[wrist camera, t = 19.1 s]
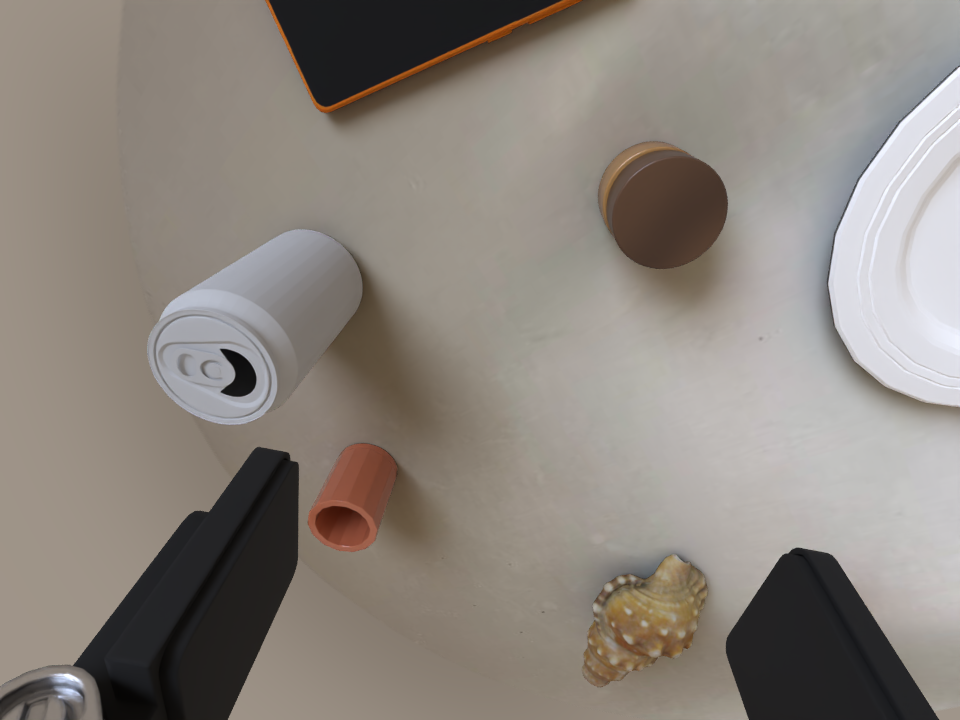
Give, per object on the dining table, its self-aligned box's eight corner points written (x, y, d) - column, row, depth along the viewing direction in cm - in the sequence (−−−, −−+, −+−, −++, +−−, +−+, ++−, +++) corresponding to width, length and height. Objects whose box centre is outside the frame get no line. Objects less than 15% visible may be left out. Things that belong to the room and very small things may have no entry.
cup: (326, 467, 40) (294, 526, 35) (360, 431, 38) (332, 488, 33) (374, 500, 41) (351, 562, 36) (410, 467, 39) (390, 527, 34)
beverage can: (360, 334, 34) (282, 447, 24) (263, 309, 34) (142, 413, 24) (372, 240, 31) (289, 324, 21) (266, 213, 31) (129, 284, 21)
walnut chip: (584, 209, 27) (588, 220, 25) (664, 125, 25) (676, 129, 23) (653, 274, 28) (662, 290, 26) (735, 199, 26) (752, 210, 24)
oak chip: (577, 196, 29) (581, 206, 27) (651, 118, 27) (661, 122, 25) (641, 258, 30) (649, 271, 28) (717, 188, 28) (732, 197, 26)
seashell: (666, 593, 48) (640, 715, 42) (587, 550, 48) (551, 665, 42) (732, 577, 40) (711, 723, 34) (638, 526, 40) (602, 662, 35)
